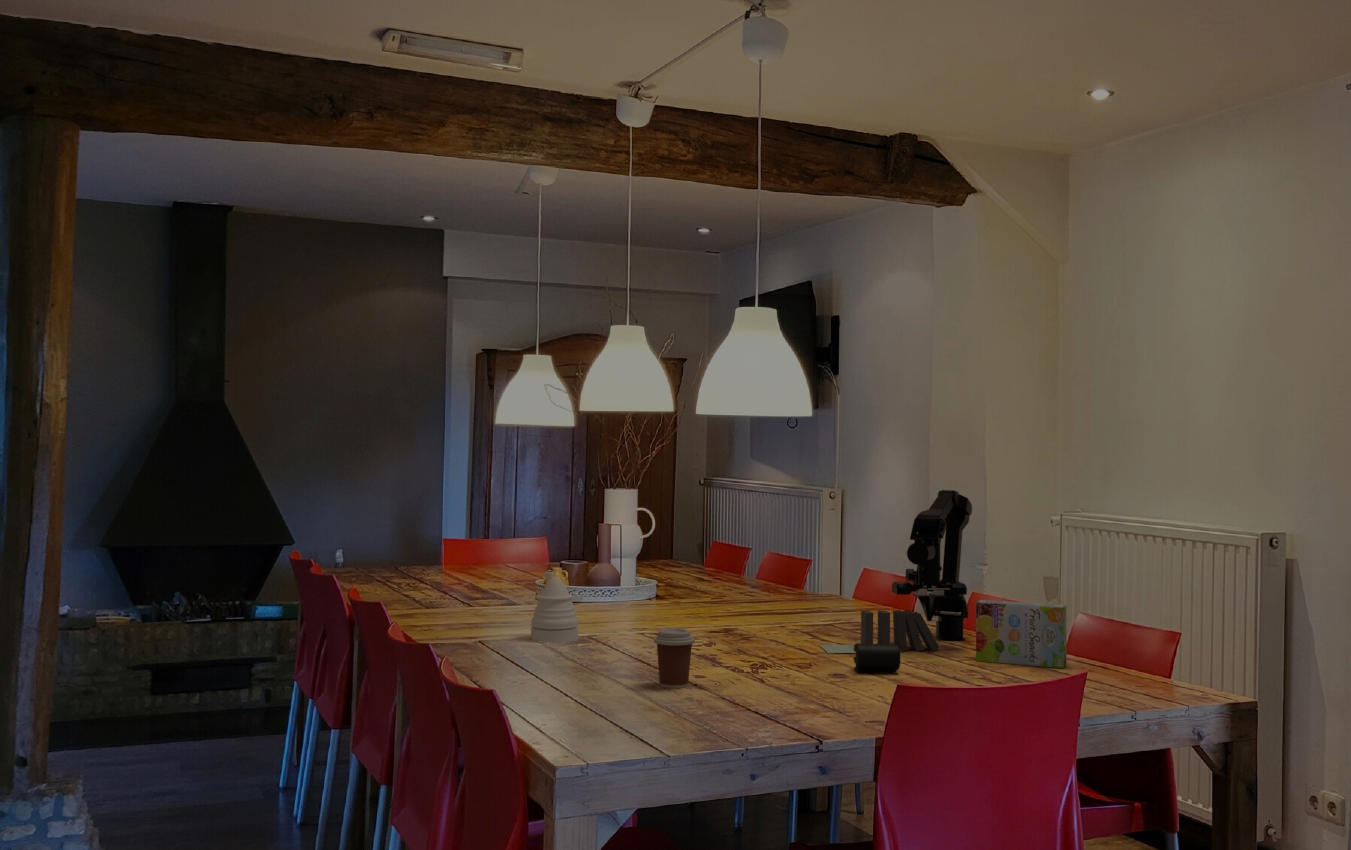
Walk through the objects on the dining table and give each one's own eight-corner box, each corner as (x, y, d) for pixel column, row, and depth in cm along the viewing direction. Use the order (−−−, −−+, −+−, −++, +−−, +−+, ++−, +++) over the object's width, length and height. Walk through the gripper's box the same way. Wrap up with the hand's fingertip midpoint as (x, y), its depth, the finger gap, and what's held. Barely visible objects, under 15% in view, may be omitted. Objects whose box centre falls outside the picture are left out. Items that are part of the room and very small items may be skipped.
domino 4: (934, 643, 300) (916, 611, 300) (940, 647, 295) (921, 613, 295) (927, 647, 300) (909, 615, 300) (933, 651, 295) (914, 618, 295)
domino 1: (885, 648, 299) (885, 610, 300) (890, 651, 294) (890, 613, 295) (877, 648, 299) (877, 610, 299) (882, 651, 294) (882, 613, 294)
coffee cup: (680, 691, 243) (681, 635, 243) (645, 686, 248) (645, 631, 248) (702, 684, 251) (702, 629, 251) (667, 679, 256) (668, 626, 256)
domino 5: (868, 648, 299) (869, 610, 299) (873, 651, 294) (873, 613, 294) (860, 648, 299) (861, 610, 299) (865, 651, 294) (865, 612, 294)
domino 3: (918, 645, 300) (907, 609, 300) (923, 648, 295) (913, 612, 295) (910, 648, 300) (900, 611, 300) (916, 651, 295) (905, 614, 295)
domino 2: (902, 647, 300) (900, 609, 300) (907, 651, 295) (906, 612, 295) (894, 648, 300) (892, 610, 300) (899, 651, 295) (897, 613, 295)
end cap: (858, 675, 263) (858, 646, 264) (852, 669, 270) (852, 640, 271) (900, 675, 264) (900, 646, 264) (893, 669, 271) (893, 641, 271)
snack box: (1066, 665, 278) (1067, 604, 279) (1064, 669, 273) (1064, 606, 273) (978, 657, 287) (979, 598, 287) (974, 661, 282) (975, 600, 282)
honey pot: (522, 640, 305) (523, 573, 305) (545, 633, 317) (546, 569, 317) (564, 644, 300) (565, 576, 300) (586, 637, 312) (587, 571, 312)
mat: (852, 645, 302) (852, 644, 302) (862, 653, 290) (862, 652, 290) (818, 645, 302) (818, 644, 302) (828, 654, 290) (828, 652, 290)
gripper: (953, 558, 307) (953, 616, 307) (886, 558, 306) (886, 616, 305) (967, 562, 296) (967, 622, 296) (897, 562, 294) (897, 622, 294)
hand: (928, 620), depth 298 cm, fingers closed
